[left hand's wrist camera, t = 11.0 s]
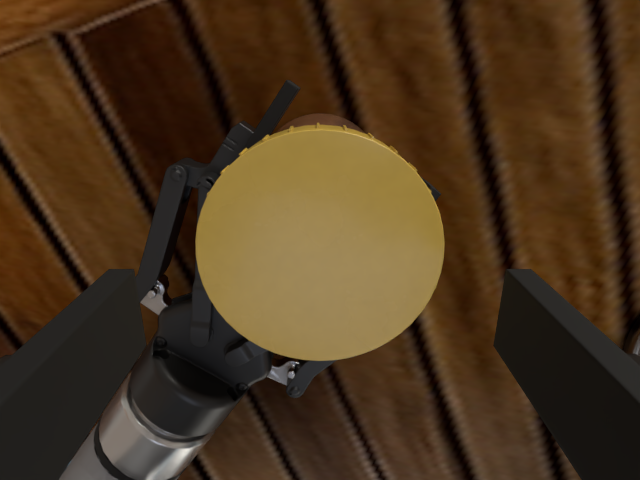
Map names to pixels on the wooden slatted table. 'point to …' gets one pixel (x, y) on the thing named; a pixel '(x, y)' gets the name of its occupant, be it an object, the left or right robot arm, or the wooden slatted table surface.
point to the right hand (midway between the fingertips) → (364, 136)
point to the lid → (319, 243)
